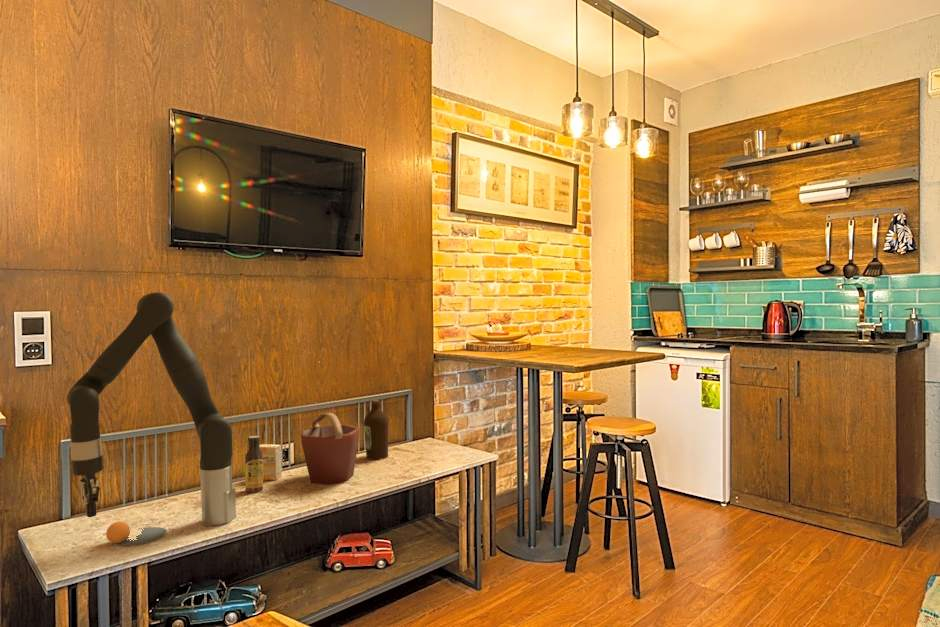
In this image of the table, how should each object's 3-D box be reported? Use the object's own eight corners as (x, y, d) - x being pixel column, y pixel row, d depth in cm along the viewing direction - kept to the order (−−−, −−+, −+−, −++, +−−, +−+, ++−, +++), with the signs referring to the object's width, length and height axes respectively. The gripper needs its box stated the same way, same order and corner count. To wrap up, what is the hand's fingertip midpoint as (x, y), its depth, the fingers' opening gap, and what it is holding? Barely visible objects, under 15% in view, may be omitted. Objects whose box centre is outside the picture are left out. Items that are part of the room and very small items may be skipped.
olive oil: (384, 452, 271) (382, 397, 270) (393, 457, 261) (391, 400, 261) (361, 456, 266) (359, 399, 265) (369, 461, 256) (367, 403, 256)
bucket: (301, 473, 242) (299, 411, 242) (356, 466, 249) (354, 406, 248) (304, 490, 219) (301, 422, 218) (365, 483, 226) (363, 416, 225)
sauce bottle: (248, 494, 216) (245, 439, 216) (243, 490, 221) (241, 436, 221) (266, 490, 220) (264, 436, 220) (261, 486, 225) (259, 434, 225)
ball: (98, 530, 172) (105, 548, 173) (118, 528, 171) (124, 546, 173) (111, 518, 177) (117, 536, 179) (130, 516, 177) (136, 533, 178)
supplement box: (256, 480, 234) (255, 446, 234) (262, 476, 239) (261, 443, 238) (276, 480, 233) (275, 446, 232) (282, 476, 237) (281, 443, 237)
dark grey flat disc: (175, 527, 186) (175, 526, 186) (150, 545, 172) (150, 545, 172) (131, 528, 186) (131, 527, 186) (102, 546, 172) (102, 546, 172)
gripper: (108, 456, 168) (112, 517, 168) (96, 449, 177) (101, 507, 178) (76, 462, 162) (81, 525, 163) (66, 454, 172) (71, 514, 173)
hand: (91, 516), depth 170 cm, fingers closed
